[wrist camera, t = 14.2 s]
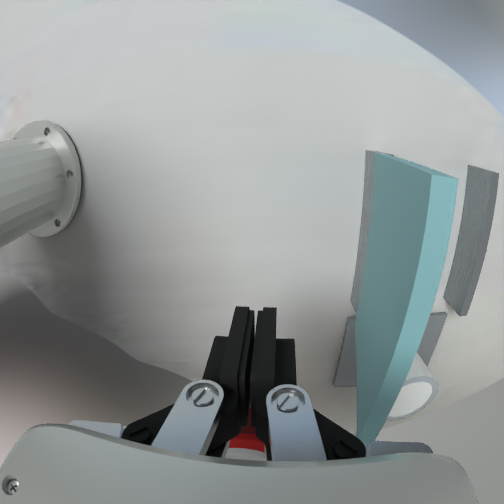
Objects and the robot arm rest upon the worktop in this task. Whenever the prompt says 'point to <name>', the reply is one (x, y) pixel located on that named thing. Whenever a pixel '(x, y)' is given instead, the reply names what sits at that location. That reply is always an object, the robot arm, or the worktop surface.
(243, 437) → the canned food
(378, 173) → the panel
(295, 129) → the worktop surface
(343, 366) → the mat
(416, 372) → the shot glass
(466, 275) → the grey flat bars
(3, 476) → the robot arm
